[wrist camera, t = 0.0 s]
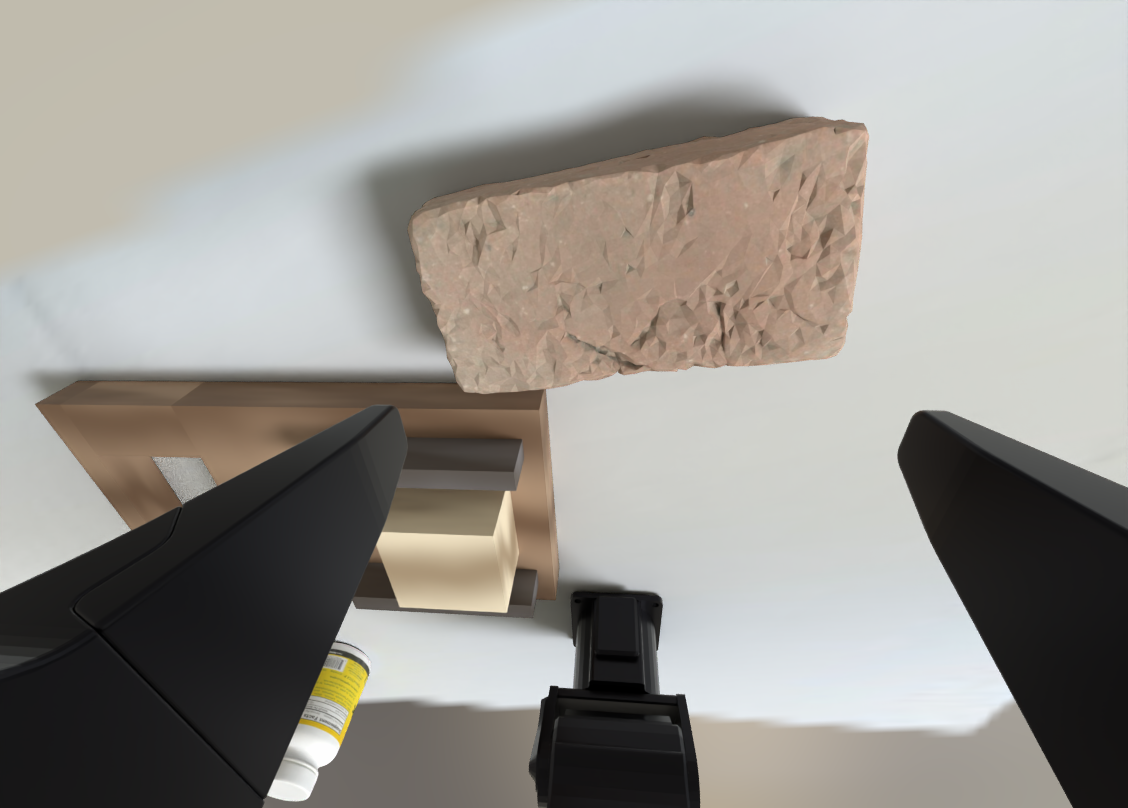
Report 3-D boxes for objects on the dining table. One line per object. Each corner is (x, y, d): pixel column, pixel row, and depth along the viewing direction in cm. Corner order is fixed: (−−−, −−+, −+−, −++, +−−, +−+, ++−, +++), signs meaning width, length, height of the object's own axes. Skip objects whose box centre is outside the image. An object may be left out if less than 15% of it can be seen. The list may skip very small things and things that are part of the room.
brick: (478, 361, 25) (454, 410, 22) (422, 193, 21) (380, 217, 17) (812, 312, 23) (854, 359, 19) (828, 107, 18) (888, 112, 14)
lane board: (559, 568, 34) (551, 636, 30) (196, 553, 36) (141, 613, 32) (545, 383, 25) (531, 441, 21) (77, 380, 28) (-16, 431, 24)
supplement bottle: (345, 678, 45) (286, 809, 37) (300, 648, 43) (226, 781, 35) (386, 665, 43) (333, 800, 35) (341, 633, 41) (273, 770, 33)
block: (519, 553, 29) (506, 612, 26) (423, 549, 30) (399, 607, 27) (508, 478, 26) (493, 536, 23) (401, 476, 27) (371, 531, 23)
